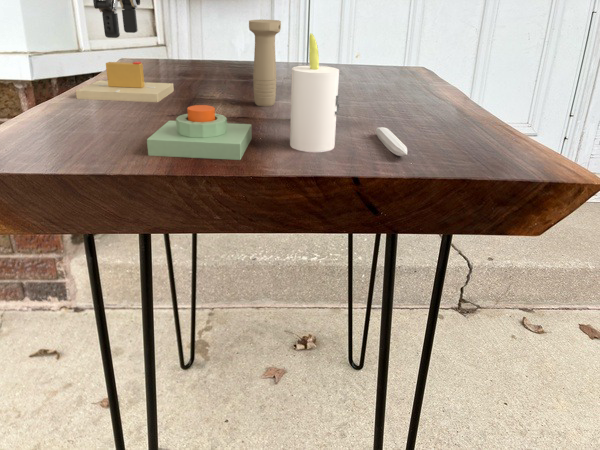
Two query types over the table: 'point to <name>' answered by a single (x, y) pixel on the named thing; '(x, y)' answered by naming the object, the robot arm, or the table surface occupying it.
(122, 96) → the plate
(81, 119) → the table surface
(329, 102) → the candle
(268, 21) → the handle
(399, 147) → the white faceted rod
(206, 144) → the green button mount
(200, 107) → the bell button
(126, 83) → the thumbturn
